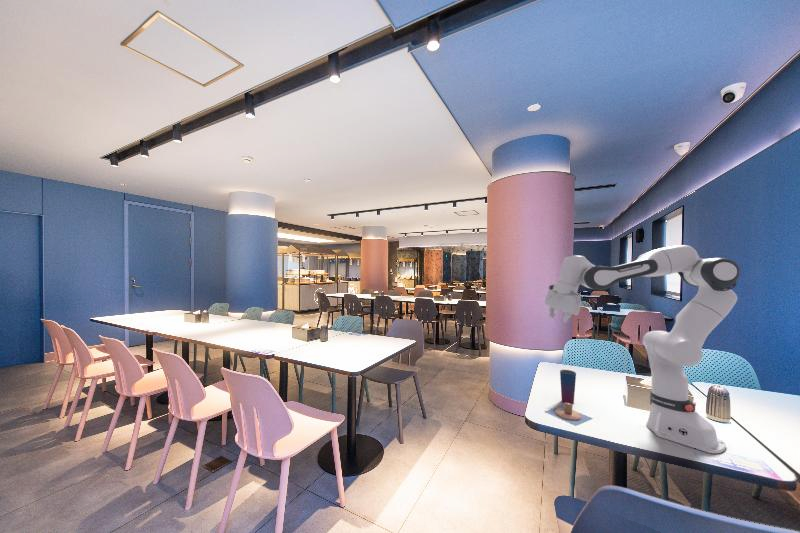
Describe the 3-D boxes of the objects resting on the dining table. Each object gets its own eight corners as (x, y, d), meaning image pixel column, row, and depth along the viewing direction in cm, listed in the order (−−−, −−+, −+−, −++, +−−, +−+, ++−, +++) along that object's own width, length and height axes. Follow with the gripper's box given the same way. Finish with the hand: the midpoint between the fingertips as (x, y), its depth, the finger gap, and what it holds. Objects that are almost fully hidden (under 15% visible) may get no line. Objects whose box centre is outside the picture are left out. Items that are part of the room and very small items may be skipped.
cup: (578, 406, 142) (578, 374, 143) (562, 405, 144) (562, 373, 144) (572, 400, 149) (573, 370, 149) (557, 399, 151) (558, 369, 151)
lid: (586, 417, 131) (586, 406, 131) (572, 422, 126) (573, 410, 126) (563, 408, 140) (563, 397, 140) (550, 412, 135) (550, 401, 135)
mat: (593, 419, 130) (593, 418, 130) (575, 426, 124) (575, 425, 124) (561, 406, 142) (561, 405, 142) (544, 412, 136) (544, 411, 136)
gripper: (588, 295, 126) (579, 327, 127) (558, 288, 146) (550, 315, 147) (574, 292, 125) (565, 324, 126) (546, 285, 146) (538, 312, 146)
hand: (557, 319), depth 137 cm, fingers open, 8 cm apart
